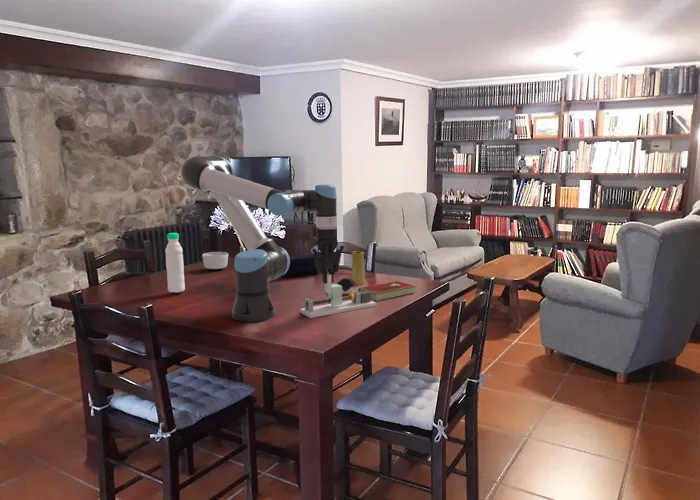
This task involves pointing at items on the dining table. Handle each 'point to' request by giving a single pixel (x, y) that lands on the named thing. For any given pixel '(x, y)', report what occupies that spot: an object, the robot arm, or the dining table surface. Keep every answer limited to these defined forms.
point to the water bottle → (174, 264)
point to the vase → (358, 268)
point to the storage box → (301, 266)
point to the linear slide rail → (356, 302)
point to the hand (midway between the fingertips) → (328, 291)
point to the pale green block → (335, 295)
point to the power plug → (347, 284)
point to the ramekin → (215, 260)
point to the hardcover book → (388, 290)
